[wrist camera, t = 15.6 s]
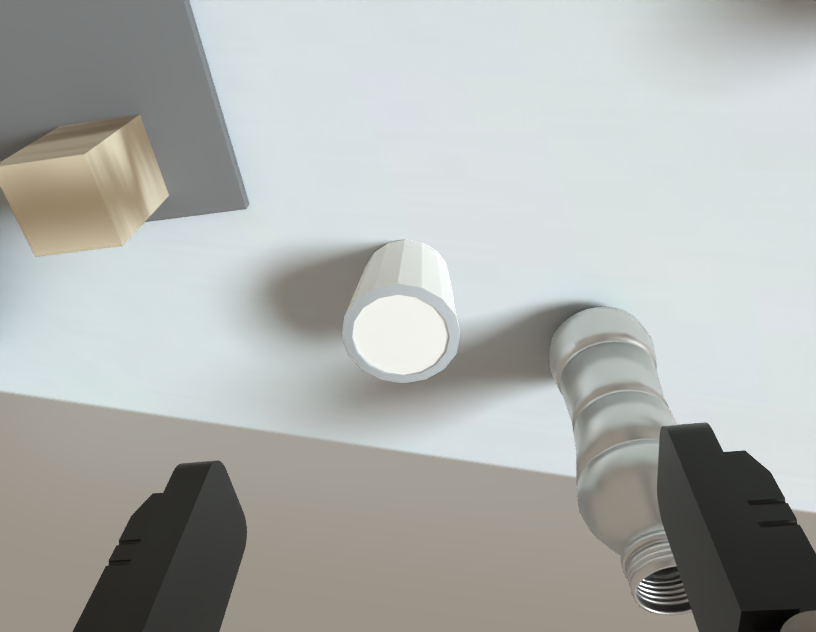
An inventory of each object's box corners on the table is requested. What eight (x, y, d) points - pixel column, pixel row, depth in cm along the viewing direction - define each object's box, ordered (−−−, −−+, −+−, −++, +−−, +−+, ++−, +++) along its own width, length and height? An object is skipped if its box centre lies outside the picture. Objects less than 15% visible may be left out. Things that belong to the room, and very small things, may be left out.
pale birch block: (59, 126, 40) (-10, 167, 34) (140, 114, 39) (84, 154, 33) (93, 205, 42) (35, 256, 36) (169, 195, 41) (122, 246, 36)
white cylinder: (475, 251, 43) (479, 308, 37) (436, 334, 47) (435, 398, 41) (374, 215, 42) (362, 268, 37) (342, 303, 46) (326, 364, 40)
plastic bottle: (651, 359, 47) (765, 621, 30) (555, 382, 49) (613, 645, 32) (634, 282, 44) (751, 526, 27) (533, 310, 45) (583, 558, 29)
